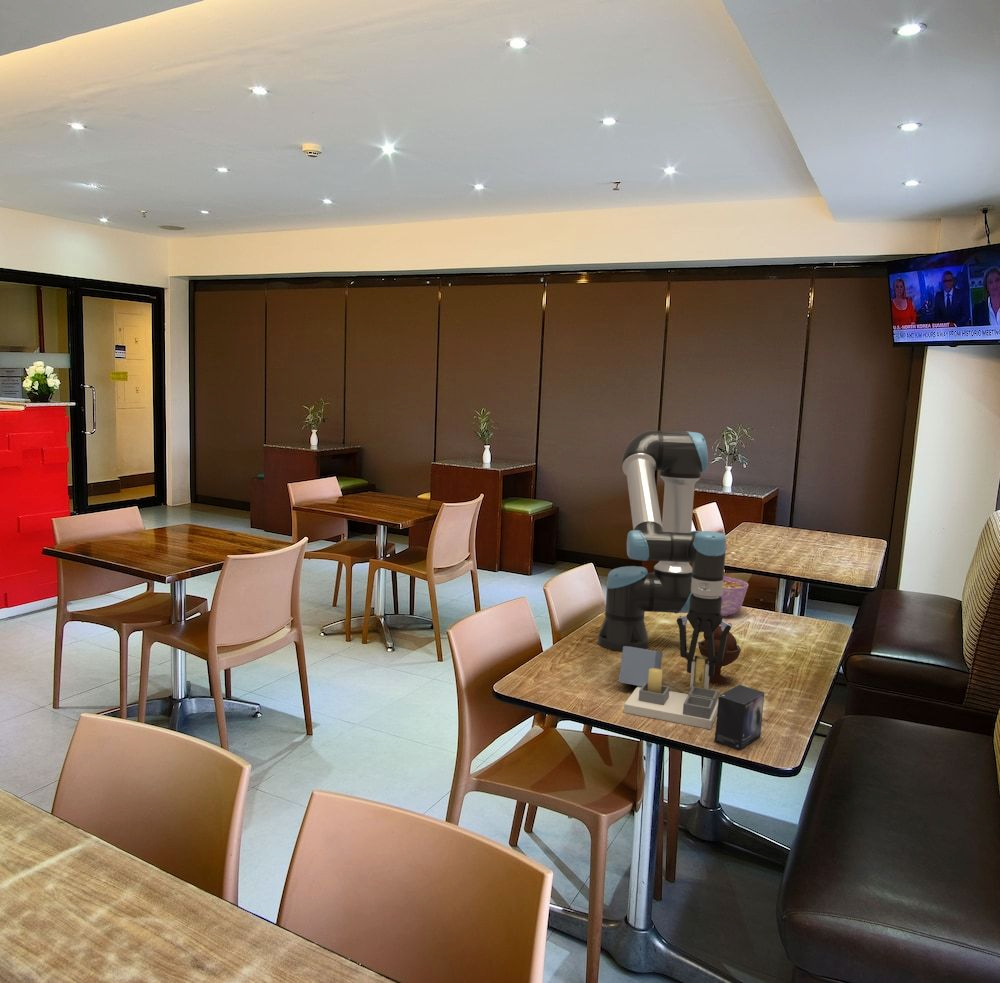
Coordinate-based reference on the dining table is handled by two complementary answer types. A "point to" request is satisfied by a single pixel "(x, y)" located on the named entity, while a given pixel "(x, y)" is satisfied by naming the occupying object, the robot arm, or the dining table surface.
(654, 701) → the pin board
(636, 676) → the cover
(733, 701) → the small box
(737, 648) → the ice cream bowl
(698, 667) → the brass pin
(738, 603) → the bowl of food
